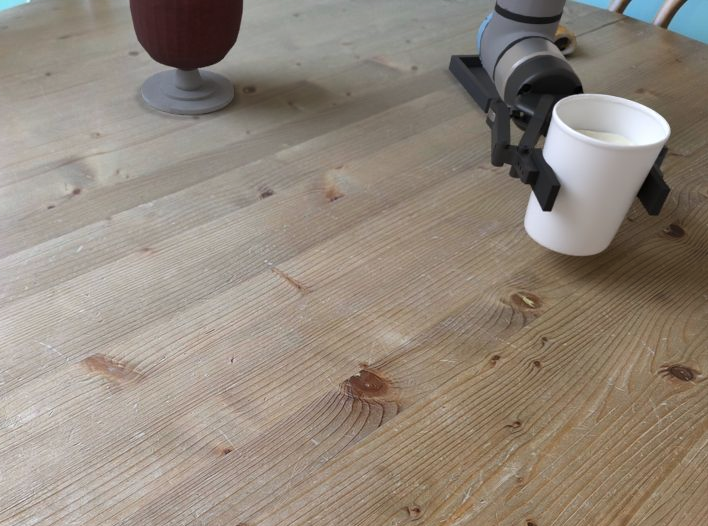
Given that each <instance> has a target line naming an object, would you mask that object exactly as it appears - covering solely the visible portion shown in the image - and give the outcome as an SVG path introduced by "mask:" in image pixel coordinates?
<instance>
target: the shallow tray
mask: <svg viewBox="0 0 708 526" xmlns="http://www.w3.org/2000/svg"><path fill="white" fill-rule="evenodd" d="M448 70H449V71H450V73H451V74H452V75H453V76H454V78H456V80H457V81H458V82H459V84H461V86H462V87H463V89H464V90H465V91H466V92H467V94H469V96H470V97H471V98H472V99H473V100H474V102H475V103H476V104H477V105H478V107H479V108H480V109H481V110H482V112H483V113H488V111H489V108H490V104H491V100H492V99H493V98H500V99H501V97H500V95H499V93H498V91H497V89H496V87H495V85H494V83H493V82H492V80H491V78H490V76H489V74H488V73H487V71H486V70H485V69H484V67H483V65H482V63H481V60H480V54H479V53H478V54H451V56H450V61H449V64H448Z"/></svg>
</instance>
